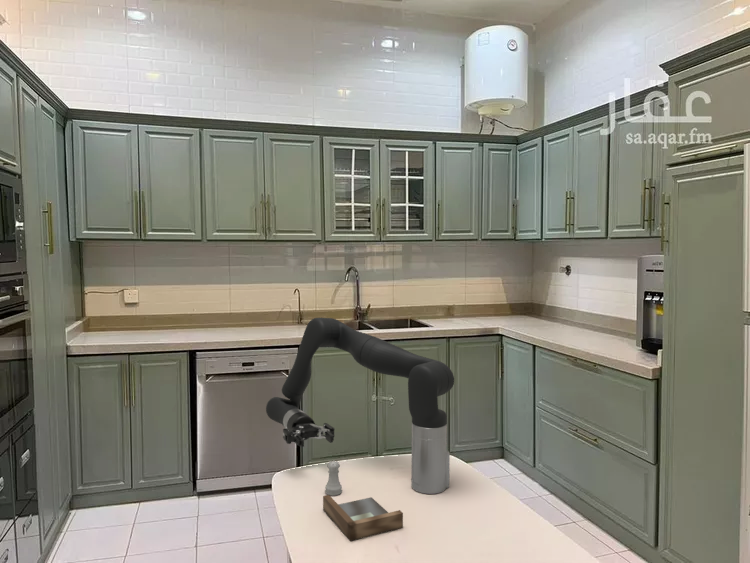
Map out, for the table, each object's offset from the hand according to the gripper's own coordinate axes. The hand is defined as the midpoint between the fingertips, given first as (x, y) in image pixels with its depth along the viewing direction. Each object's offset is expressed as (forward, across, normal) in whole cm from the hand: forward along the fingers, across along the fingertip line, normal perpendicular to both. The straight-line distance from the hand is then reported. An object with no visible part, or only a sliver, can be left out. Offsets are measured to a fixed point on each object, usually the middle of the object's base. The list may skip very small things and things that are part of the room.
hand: (317, 441), depth 151 cm
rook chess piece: (+12, 0, +10) cm, 15 cm away
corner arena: (+28, +1, +9) cm, 29 cm away
